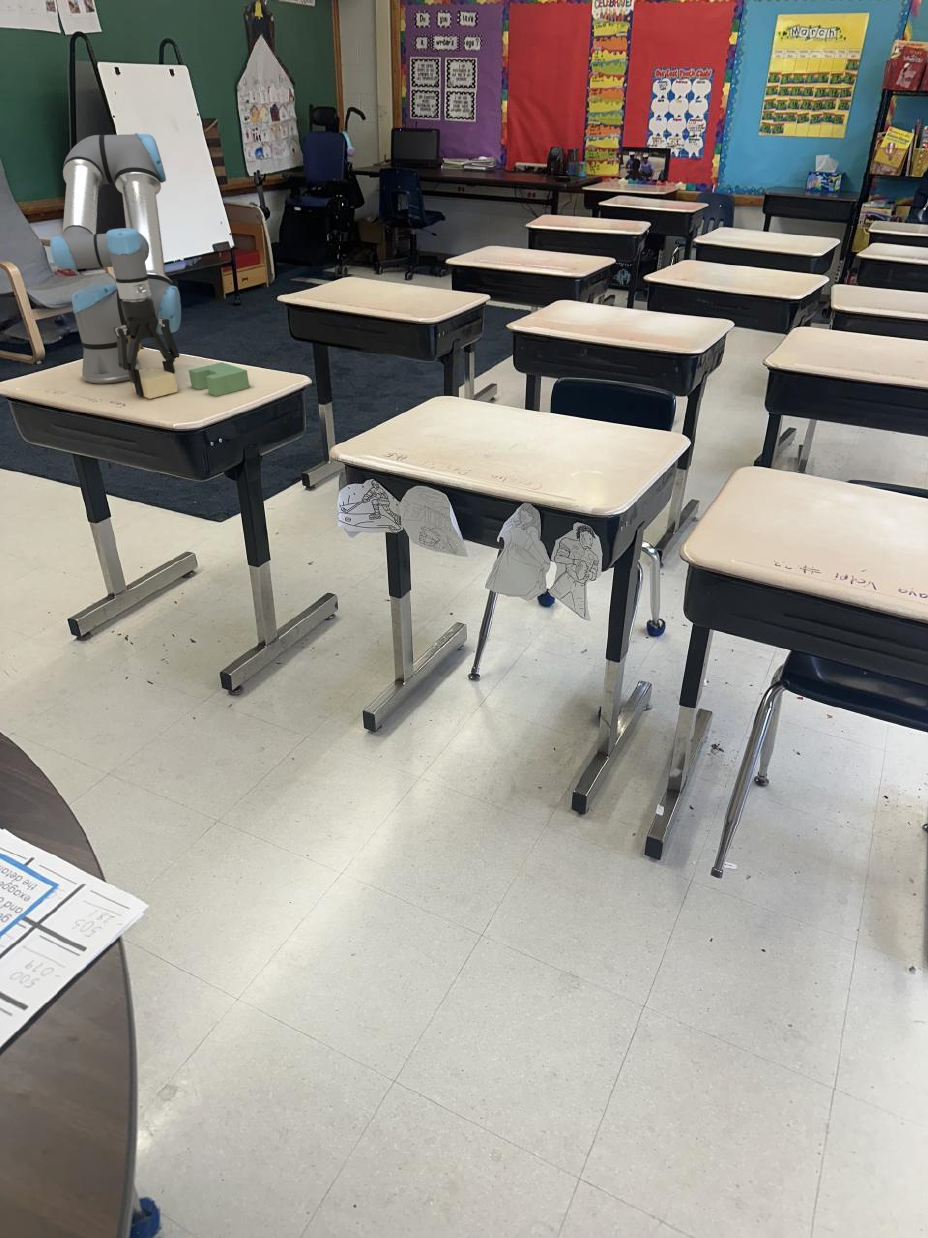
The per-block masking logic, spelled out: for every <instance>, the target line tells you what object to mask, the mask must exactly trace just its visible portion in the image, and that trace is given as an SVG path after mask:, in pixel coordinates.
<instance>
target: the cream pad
mask: <svg viewBox="0 0 928 1238" xmlns="http://www.w3.org/2000/svg"><path fill="white" fill-rule="evenodd" d="M139 374H140V378H141V383H142V388H143V393H144V396H143V397H145V398H147V399H149V400H152V399H154V398H158V397H163V396H166V395H170V394H175V393H178V392H179V390H178V384H177V379H176V373H175V374H173V373H170V372H167V371H165V370H164V369H163V368H155V369H150V368H147V367H144V368H141V369H140V370H139ZM131 384H132V389H133V392H134V393H135V394H136V390H135V385H134V383H131Z"/></svg>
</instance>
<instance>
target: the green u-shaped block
mask: <svg viewBox="0 0 928 1238" xmlns="http://www.w3.org/2000/svg"><path fill="white" fill-rule="evenodd" d="M188 374H189V375H188V376H189V379H190V380H189V381H190V385H191V388H193V389H195V390H203V389H206V388H207V390H208V394H209V395H211V396H214V397H219V396H222V395H227V394H230V393H235V392H237V391H241V390H245V389H249V388H250V380H249V376H248V375H249V374H248V370H247V369H244V368H242V367H238V366H235V365H232V364H228V363H226V362H222V361H221V362H218V363H217V362H216V363H213V364H209V365H204V366H200V367H196V368H192V369H188Z"/></svg>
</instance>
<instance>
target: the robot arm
mask: <svg viewBox="0 0 928 1238" xmlns="http://www.w3.org/2000/svg"><path fill="white" fill-rule="evenodd" d="M62 176H63V180H64V182H65V184H66V186H65V198H64V199H65V200H64V210H63V223H62V234H59V235H55V236H52V237H51V238H50V240H49V242H50V243H49V245H50V252H51V256H52V259H53V262H54V264H55V265H56V267H57V268H59V269H61V270H74V271H75V270H83V269H84V270H85V269H96V268H97V269H98V268H112V270H113V273H114V278H115V283H114V282H113V283H112V282H111V283H100V284H95V285H91V286H87V287H84V288H81V289H79V290H76V291H75V292H73V294H72V295H71V303H72V309H73V311H72V312H73V314H74V317H75V321H76V325H77V329H78V333H79V336H80V340H81V345H82V349H83V351H82V352H81V356H82V357H83V358H82V371H81V372H82V373H81V374H82V377H83V381H85V382H87V383H90V384H97V385H99V384H100V385H103V384H104V385H105V384H107V385H108V384H116V383H117V384H118V383H123V382H128V381H130V383H131V384H132V383H134V385H135V390H136V393H135V394H136V395H137V396H139V397H144V393H143V388H142V383H141V378H140V374H139V370H140V369H142V366H141V363H140V362H139V360H138V355H139V352H138V349H139V344H140V343H141V344H142V340H145V339H146V338H148V339H151V341H152V342H153V343H154V345H155V347H156V349H157V350H158V351H159V352H160V354H161V356H162V358H163V359H164V360H163V361H161V362H162V367H163V370H165V371H167V372H170V373H173V374H175V375H176V370H175V361H176V359H178V358H179V357H180V353H179V350H178V347H177V344H176V342H175V340H174V336H173V334H172V333H175V332H177V331H178V330H179V329H180V326H181V321H182V304H181V296H180V290H179V288H178V287H177V286H176V285H173V281H172V280H171V279H170V278H169V277H168V276H167V275H166V267H165V261H164V260H165V259H164V251H163V244H162V235H161V234H162V233H161V225H160V217H159V208H158V200H157V195H158V194H159V193H160V192H161V190H162V184H163V183H165V182H166V181H167V176H166V173H165V168H164V164H163V160H162V157H161V154H160V150H159V147H158V144H157V141H156V139H155V137H154V136H153V135H152V134H148V133H138V132H135V133H134V134H133V133H131V134H129V133H128V134H94V135H90V136H87V137H85V138H83V139H81V140H80V141H79V142H78V143H76V144H75V145H74V146H73V147H72V149H70V151H69V152H68V154H67V155H66V157H65V160H64V163H63V169H62ZM104 185H115V188H116V189H117V191H118V192H120V193H121V195H122V202H123V210H124V219H125V221H124V222H125V227H124V228H123V227H122V228H114V229H110V230H107V232H106V233H97V221H98V202H99V201H98V200H99V199H98V198H99V192H100V190H101V189H102V187H103V186H104ZM161 335H162V337H163V338H164V341H165V344H164V342H163V340H162V339H161ZM127 336H130V345H129V342H128V338H127ZM107 465H108V468H109V469H110V470H111V469H112V464H111V463H110V462H107Z"/></svg>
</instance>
